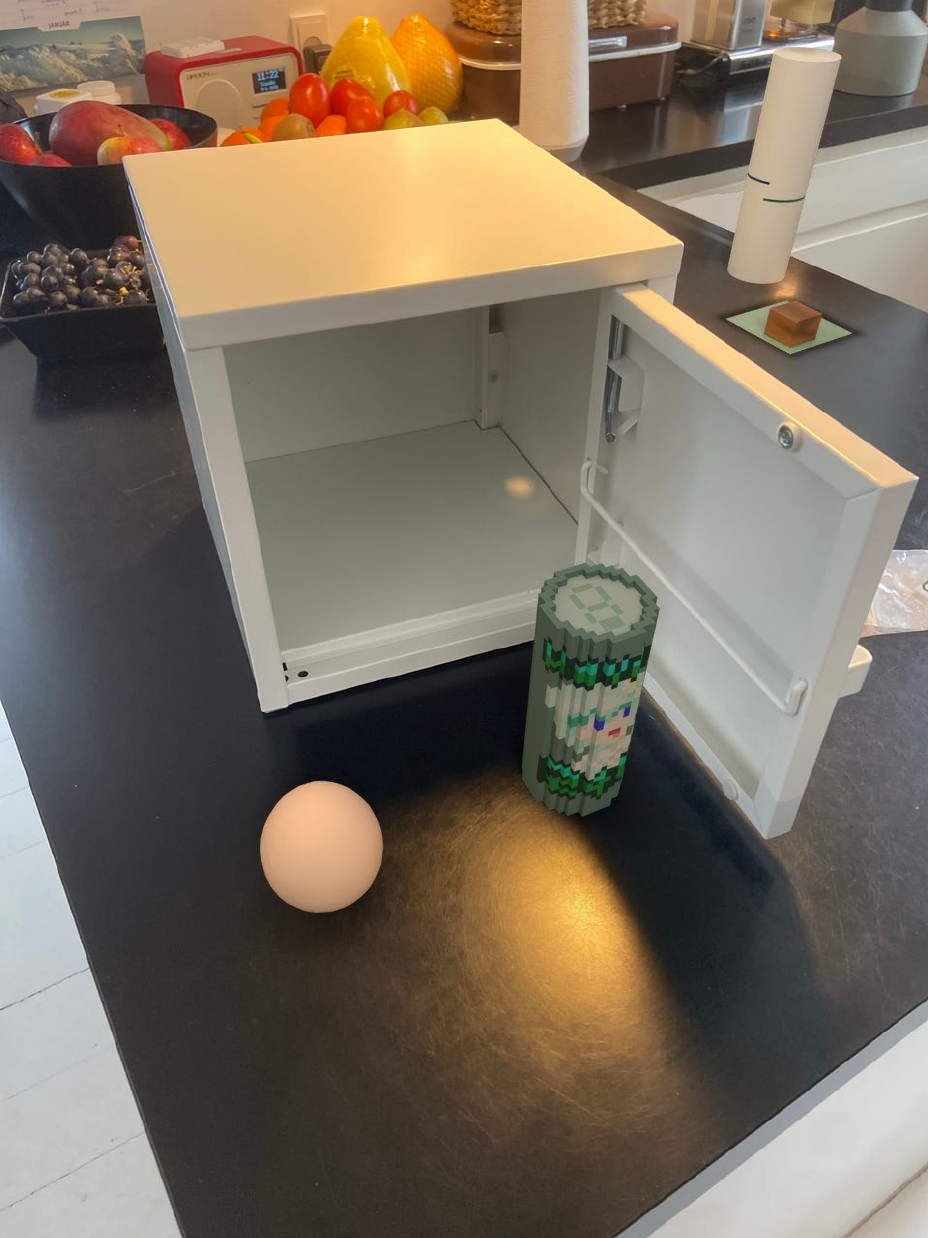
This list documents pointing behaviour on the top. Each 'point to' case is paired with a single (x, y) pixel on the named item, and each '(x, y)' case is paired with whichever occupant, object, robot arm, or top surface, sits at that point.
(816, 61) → the cylindrical container
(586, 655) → the can
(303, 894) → the egg
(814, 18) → the mallet
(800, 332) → the brown wooden block
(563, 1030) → the top surface
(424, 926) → the top surface
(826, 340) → the flat green square plate
